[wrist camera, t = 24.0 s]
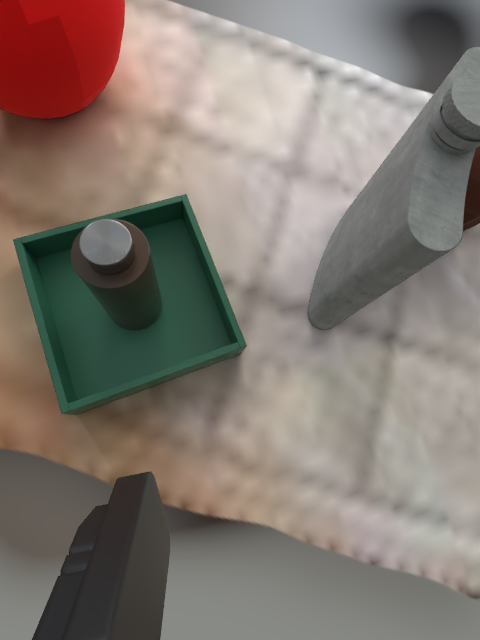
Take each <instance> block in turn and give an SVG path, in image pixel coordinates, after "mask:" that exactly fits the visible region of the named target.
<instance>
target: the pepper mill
mask: <svg viewBox="0 0 480 640" xmlns="http://www.w3.org/2000/svg"><path fill="white" fill-rule="evenodd" d="M71 261H72V265H73V267H74V269H75V271H76V273H77V274H78V275H79V277H80V278H81V279H82V281H83V282H84V283H85V284H86V286H87V287H88V288H89V290H90V291H91V292H92V294H93V295H94V296H95V297H96V299H97V300H98V301H99V303H100V304H101V305H102V307H103V308H104V309H105V310H106V312H107V313H108V314H109V316H110V317H111V318H112V320H113V321H114V322H115V323H116V324H117V325H119V326H120V327H122V328H125V329H128V330H141V329H144V328H147V327H149V326H150V325H152V324H153V323H154V322H155V321H156V320H157V319H158V317H159V315H160V313H161V310H162V299H161V294H160V290H159V286H158V281H157V277H156V273H155V269H154V264H153V260H152V256H151V251H150V247H149V244H148V241H147V239H146V237H145V235H144V234H143V233H142V232H141V231H140V230H139V229H138V228H137V227H136V226H134V225H133V224H131V223H129V222H126V221H123V220H119V219H103V220H98V221H95V222H93V223H91V224H89V225H88V226H87V227H85V228H84V229H83V230H82V231H81V232H80V233H79V234H78V235H77V237H76V238H75V240H74V242H73V245H72V249H71Z"/></svg>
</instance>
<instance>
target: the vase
mask: <svg viewBox="0 0 480 640" xmlns="http://www.w3.org/2000/svg"><path fill="white" fill-rule="evenodd" d="M124 14H125V1H124V0H0V108H1V109H3V110H5V111H7V112H10V113H13V114H16V115H20V116H24V117H28V118H44V119H52V118H58V117H65V116H68V115H70V114H73V113H75V112H78V111H80V110H82V109H83V108H85V107H86V106H87V105H89V104H90V103H92V102H93V101H95V99H96V98H97V97H98V96H99V95H100V93H101V92H102V91H103V90H104V88H105V86H106V85H107V83H108V81H109V79H110V78H111V76H112V74H113V71H114V69H115V66H116V64H117V61H118V58H119V52H120V46H121V40H122V34H123V28H124Z"/></svg>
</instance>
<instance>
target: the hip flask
mask: <svg viewBox="0 0 480 640" xmlns="http://www.w3.org/2000/svg"><path fill="white" fill-rule="evenodd" d="M479 146H480V47H474V48H471V49H469V50H467V51H466V52H465V53H464V55H463V56H462V57H461V59H460V60H459V61H458V63H457V64H456V65H455V67H454V68H453V69H452V71H451V72H450V73H449V75H448V76H447V78H446V79H445V80H444V82H443V83H442V84H441V86H440V87H439V88H438V90H437V91H436V92H435V94H434V95H433V96H432V98H431V99H430V100H429V102H428V103H427V104H426V106H425V107H424V108H423V110H422V111H421V112H420V114H419V115H418V116H417V118H416V119H415V120H414V122H413V123H412V124H411V126H410V127H409V128H408V130H407V131H406V132H405V134H404V135H403V136H402V138H401V139H400V140H399V142H398V143H397V144H396V146H395V147H394V148H393V150H392V151H391V152H390V154H389V155H388V156H387V158H386V159H385V160H384V162H383V163H382V164H381V166H380V167H379V168H378V170H377V171H376V172H375V174H374V175H373V176H372V178H371V179H370V181H369V182H368V183H367V185H366V186H365V187H364V189H363V190H362V191H361V193H360V194H359V195H358V197H357V198H356V199H355V201H354V202H353V203H352V205H351V206H350V207H349V209H348V210H347V211H346V213H345V214H344V216H343V217H342V219H341V220H340V222H339V224H338V225H337V227H336V229H335V231H334V233H333V235H332V237H331V239H330V241H329V243H328V245H327V247H326V250H325V252H324V255H323V257H322V259H321V262H320V265H319V268H318V270H317V274H316V277H315V280H314V284H313V288H312V292H311V296H310V301H309V307H308V317H309V320H310V322H311V323H312V324H313V325H314V326H315V327H317V328H319V329H324V330H325V329H330V328H332V327H334V326H335V325H337V324H338V323H340V322H341V321H343V320H344V319H346V318H348V317H349V316H351V315H352V314H354V313H355V312H357V311H358V310H360V309H361V308H363V307H364V306H366V305H367V304H369V303H370V302H372V301H374V300H375V299H377V298H378V297H380V296H381V295H383V294H384V293H386V292H387V291H389V290H390V289H392V288H393V287H395V286H396V285H398V284H400V283H401V282H403V281H404V280H406V279H407V278H409V277H410V276H412V275H413V274H415V273H416V272H418V271H419V270H421V269H422V268H424V267H426V266H427V265H429V264H430V263H432V262H433V261H435V260H436V259H438V258H439V257H441V256H442V255H444V254H445V253H447V252H448V251H450V250H452V249H453V248H455V247H456V246H457V245H458V244H459V242H460V241H461V238H462V234H463V216H464V205H465V196H466V190H467V184H468V178H469V173H470V169H471V164H472V160H473V157H474V153H475V150H476V148H477V147H479Z"/></svg>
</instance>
